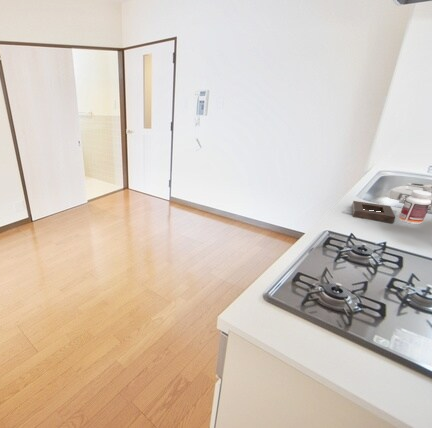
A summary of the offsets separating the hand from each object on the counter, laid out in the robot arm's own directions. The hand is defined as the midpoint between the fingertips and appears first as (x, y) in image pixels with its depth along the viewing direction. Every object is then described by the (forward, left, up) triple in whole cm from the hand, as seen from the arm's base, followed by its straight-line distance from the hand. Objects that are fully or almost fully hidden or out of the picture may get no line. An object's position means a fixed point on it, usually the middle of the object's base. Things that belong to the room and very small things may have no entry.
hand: (415, 204), depth 98 cm
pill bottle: (-1, -1, -7) cm, 7 cm away
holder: (+7, -23, -15) cm, 28 cm away
